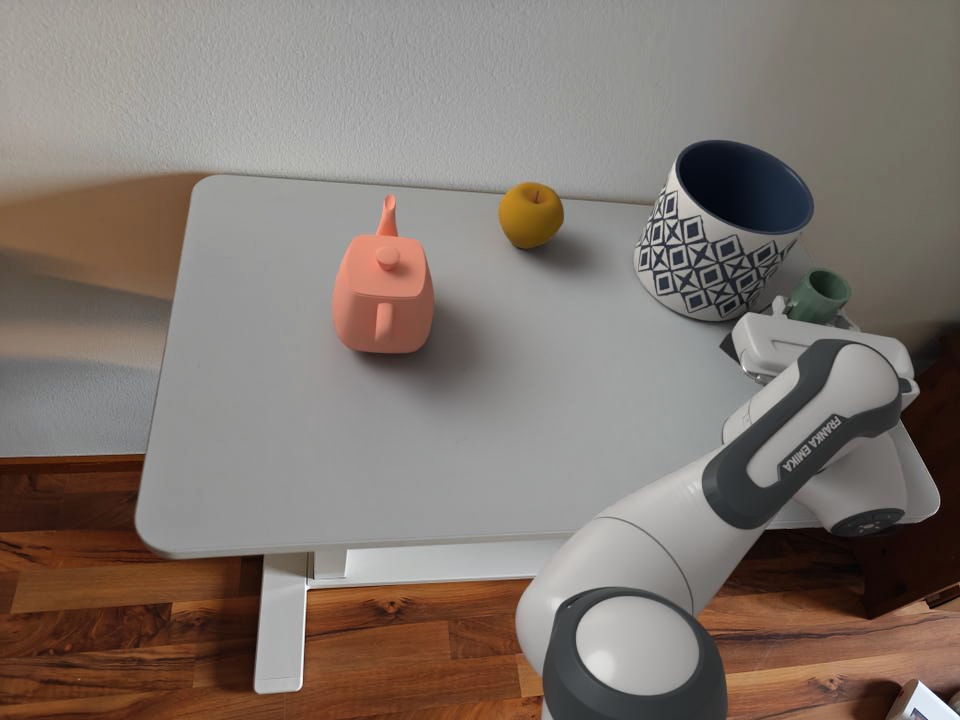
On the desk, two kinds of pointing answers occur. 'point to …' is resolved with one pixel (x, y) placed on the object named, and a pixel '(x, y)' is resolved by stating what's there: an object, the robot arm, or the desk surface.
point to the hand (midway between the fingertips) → (807, 304)
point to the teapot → (383, 291)
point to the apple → (530, 214)
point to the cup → (818, 297)
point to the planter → (721, 229)
